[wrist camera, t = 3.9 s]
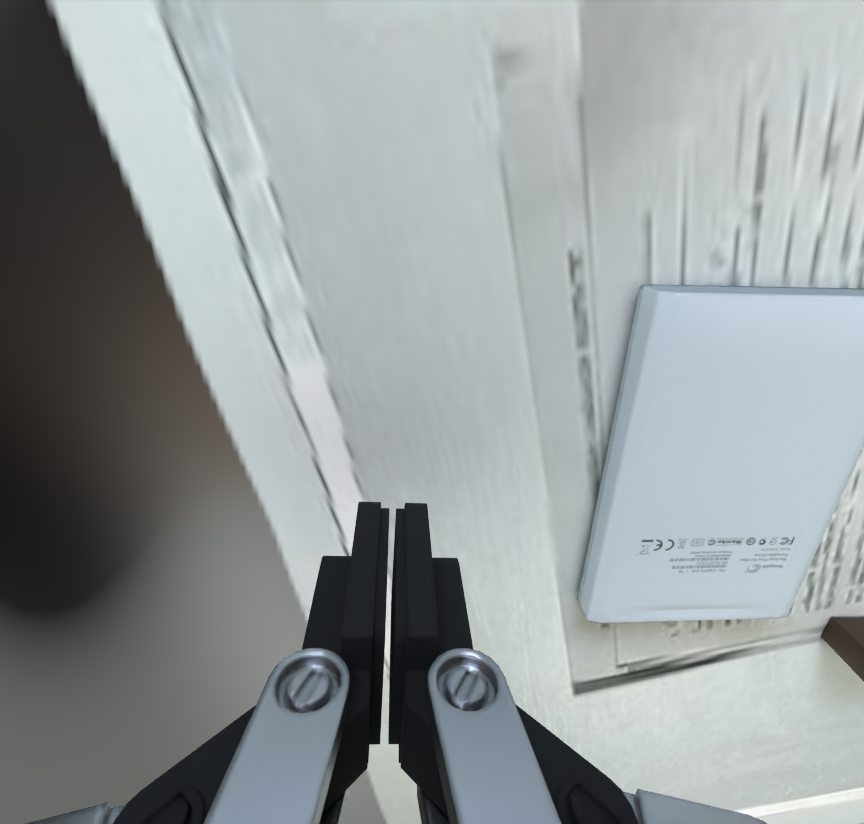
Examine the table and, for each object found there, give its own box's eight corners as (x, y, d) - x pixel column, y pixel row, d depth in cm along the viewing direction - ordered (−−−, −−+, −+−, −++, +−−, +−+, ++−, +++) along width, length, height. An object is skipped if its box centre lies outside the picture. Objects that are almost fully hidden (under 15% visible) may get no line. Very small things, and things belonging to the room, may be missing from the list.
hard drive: (886, 287, 15) (765, 590, 20) (634, 282, 15) (574, 594, 20) (939, 297, 14) (794, 621, 19) (661, 292, 13) (588, 627, 18)
